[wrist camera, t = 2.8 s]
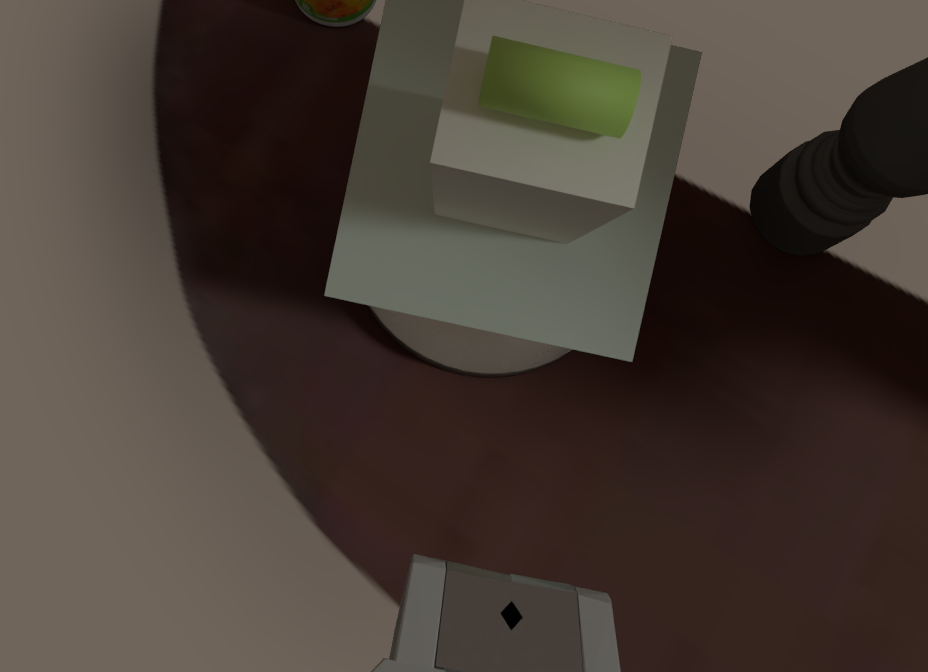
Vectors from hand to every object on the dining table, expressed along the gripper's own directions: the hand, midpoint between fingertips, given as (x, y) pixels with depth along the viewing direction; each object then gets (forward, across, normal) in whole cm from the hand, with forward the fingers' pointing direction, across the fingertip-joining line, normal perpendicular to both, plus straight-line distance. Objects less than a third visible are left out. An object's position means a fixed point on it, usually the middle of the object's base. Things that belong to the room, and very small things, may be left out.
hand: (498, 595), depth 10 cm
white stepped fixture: (+23, 0, +1) cm, 23 cm away
